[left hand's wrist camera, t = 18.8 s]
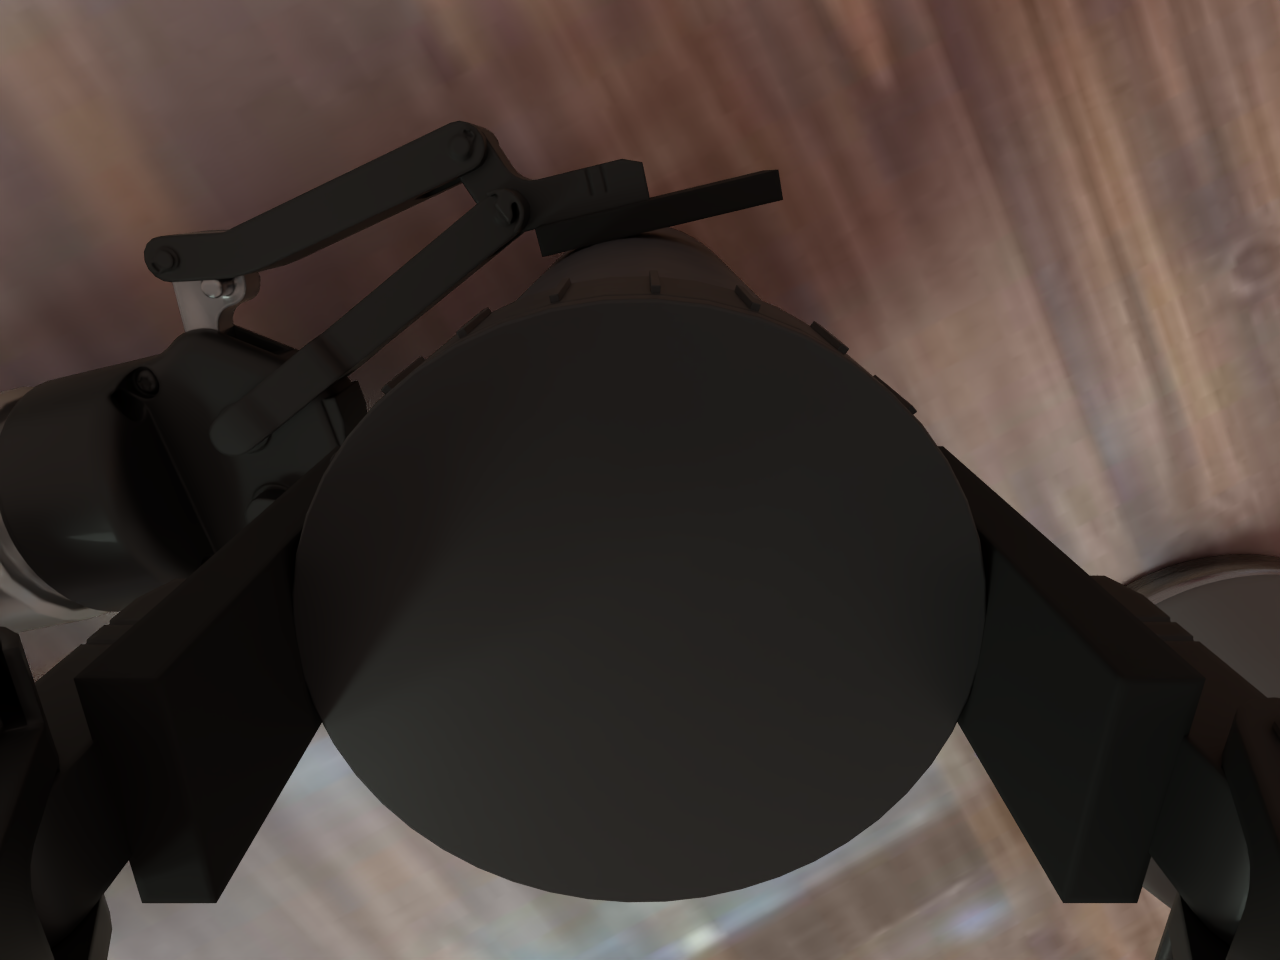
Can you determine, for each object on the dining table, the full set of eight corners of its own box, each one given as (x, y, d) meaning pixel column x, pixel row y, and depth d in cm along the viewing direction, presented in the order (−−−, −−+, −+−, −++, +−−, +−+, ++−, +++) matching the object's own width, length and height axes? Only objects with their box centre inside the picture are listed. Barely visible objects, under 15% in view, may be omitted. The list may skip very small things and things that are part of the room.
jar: (774, 255, 28) (1036, 402, 10) (713, 459, 31) (823, 880, 12) (555, 197, 28) (380, 235, 9) (512, 412, 30) (311, 782, 12)
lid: (239, 600, 12) (157, 685, 10) (594, 121, 10) (582, 106, 8) (670, 874, 14) (675, 992, 12) (1053, 535, 12) (1140, 610, 10)
